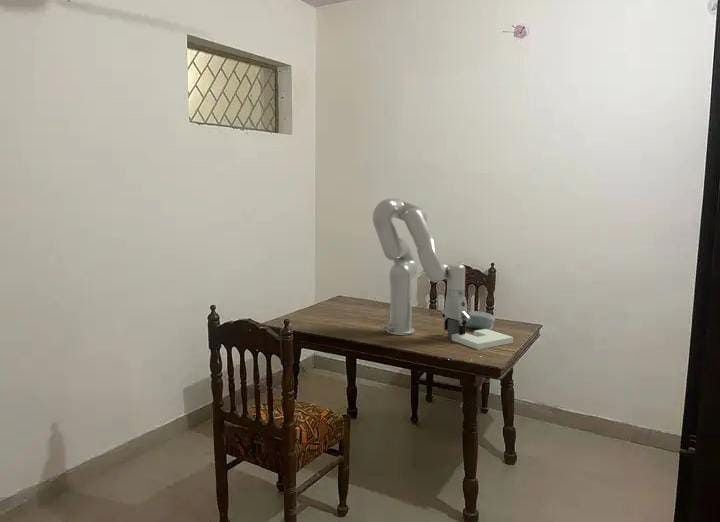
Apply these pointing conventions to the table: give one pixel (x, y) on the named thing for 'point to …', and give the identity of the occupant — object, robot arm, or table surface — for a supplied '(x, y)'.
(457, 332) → the gray rectangular block
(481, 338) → the board
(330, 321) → the table surface
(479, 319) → the streaked blue-grey ovoid
